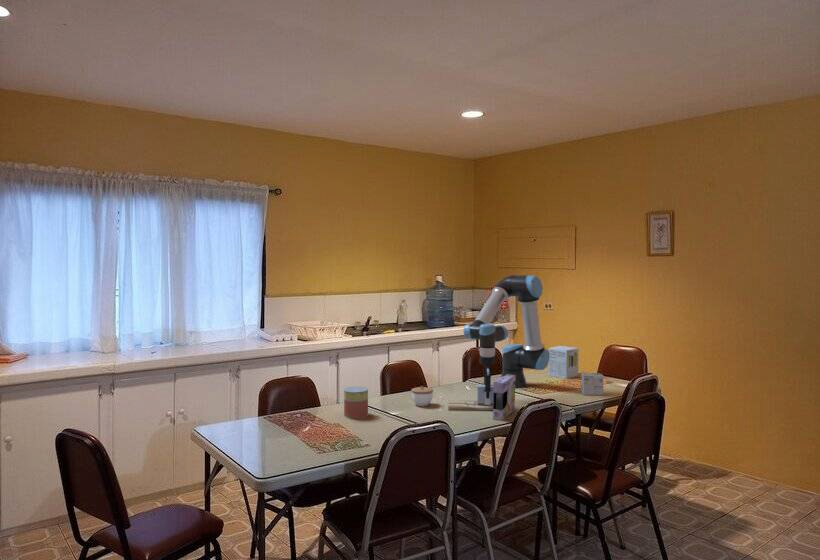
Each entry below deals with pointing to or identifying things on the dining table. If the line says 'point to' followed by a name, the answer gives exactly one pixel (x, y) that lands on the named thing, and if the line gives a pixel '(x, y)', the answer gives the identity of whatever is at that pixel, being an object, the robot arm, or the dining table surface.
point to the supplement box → (563, 362)
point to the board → (467, 405)
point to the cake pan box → (504, 396)
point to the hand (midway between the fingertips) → (487, 403)
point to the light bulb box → (592, 384)
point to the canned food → (356, 402)
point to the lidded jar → (422, 395)
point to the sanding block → (483, 395)
